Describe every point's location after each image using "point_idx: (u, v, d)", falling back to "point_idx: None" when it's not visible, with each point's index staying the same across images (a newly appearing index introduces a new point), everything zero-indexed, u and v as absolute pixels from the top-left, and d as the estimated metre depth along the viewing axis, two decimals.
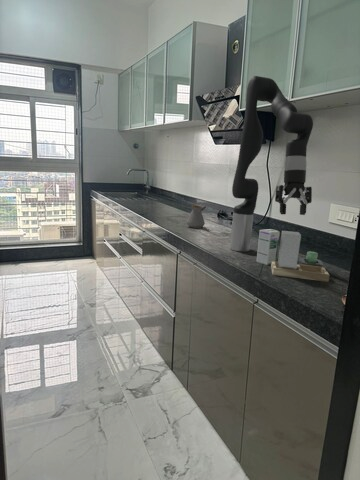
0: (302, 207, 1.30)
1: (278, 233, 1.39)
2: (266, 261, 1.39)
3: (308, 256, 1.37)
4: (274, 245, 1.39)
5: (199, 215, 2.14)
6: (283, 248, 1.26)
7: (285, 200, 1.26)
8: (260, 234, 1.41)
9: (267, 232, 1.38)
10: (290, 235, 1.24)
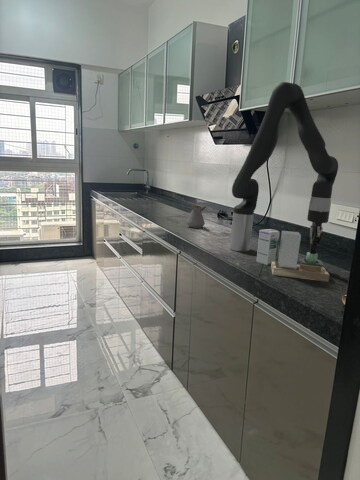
0: None
1: (278, 233, 1.39)
2: (266, 261, 1.39)
3: (308, 257, 1.37)
4: (274, 245, 1.39)
5: (199, 215, 2.14)
6: (283, 248, 1.26)
7: None
8: (260, 234, 1.41)
9: (267, 232, 1.38)
10: (290, 235, 1.24)
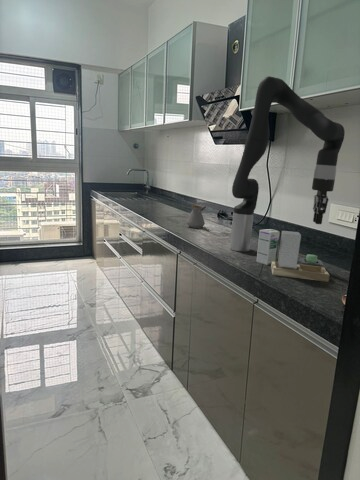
0: None
1: (278, 233, 1.39)
2: (266, 261, 1.39)
3: (308, 259, 1.37)
4: (274, 245, 1.39)
5: (199, 215, 2.14)
6: (283, 248, 1.26)
7: None
8: (260, 234, 1.41)
9: (267, 232, 1.38)
10: (290, 235, 1.24)
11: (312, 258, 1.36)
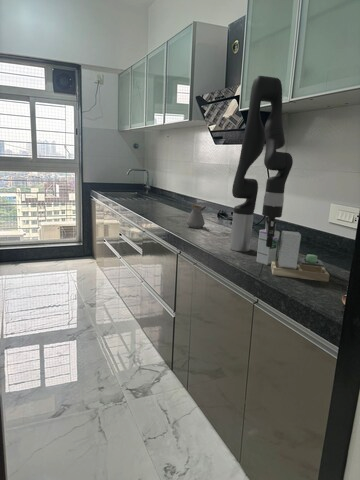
0: None
1: (278, 233, 1.39)
2: (266, 261, 1.39)
3: (308, 259, 1.37)
4: (274, 245, 1.39)
5: (199, 215, 2.14)
6: (283, 248, 1.26)
7: (273, 234, 1.36)
8: (260, 234, 1.41)
9: None
10: (290, 235, 1.24)
11: (312, 258, 1.36)
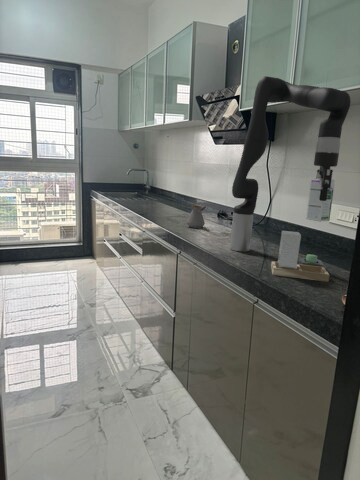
0: None
1: (333, 182, 1.21)
2: (319, 214, 1.21)
3: (308, 259, 1.37)
4: (328, 196, 1.21)
5: (199, 215, 2.14)
6: (283, 248, 1.26)
7: None
8: (312, 184, 1.22)
9: None
10: (290, 235, 1.24)
11: (312, 258, 1.36)
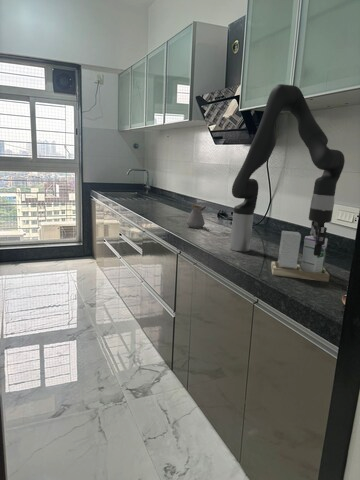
0: None
1: (326, 241, 1.25)
2: (312, 271, 1.25)
3: None
4: (321, 254, 1.25)
5: (199, 215, 2.14)
6: (283, 248, 1.26)
7: None
8: (305, 241, 1.26)
9: (314, 239, 1.24)
10: (290, 235, 1.24)
11: None
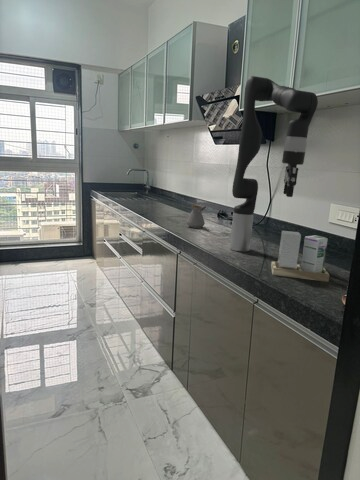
0: None
1: (326, 241, 1.25)
2: (312, 271, 1.25)
3: None
4: (321, 254, 1.25)
5: (199, 215, 2.14)
6: (283, 248, 1.26)
7: None
8: (305, 241, 1.26)
9: (314, 239, 1.24)
10: (290, 235, 1.24)
11: None
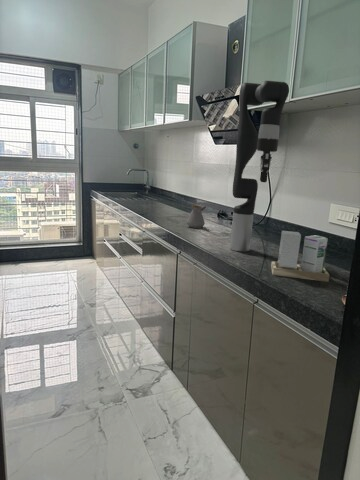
0: None
1: (326, 241, 1.25)
2: (312, 271, 1.25)
3: None
4: (322, 254, 1.25)
5: (199, 215, 2.14)
6: (283, 248, 1.26)
7: None
8: (305, 241, 1.26)
9: (314, 239, 1.24)
10: (290, 235, 1.24)
11: None
